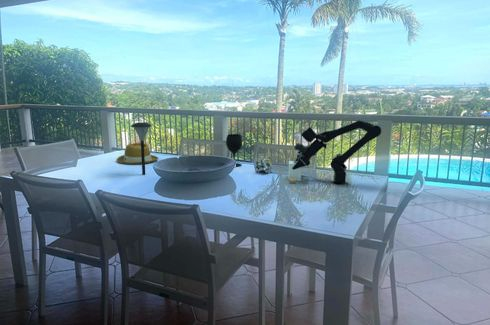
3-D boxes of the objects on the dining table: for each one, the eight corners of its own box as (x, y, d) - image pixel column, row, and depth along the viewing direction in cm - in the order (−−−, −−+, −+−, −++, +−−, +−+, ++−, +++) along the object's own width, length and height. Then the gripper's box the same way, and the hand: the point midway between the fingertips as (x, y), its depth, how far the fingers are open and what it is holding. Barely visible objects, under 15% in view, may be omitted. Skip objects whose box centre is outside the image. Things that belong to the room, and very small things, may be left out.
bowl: (296, 183, 196) (297, 178, 196) (290, 184, 195) (290, 179, 195) (294, 181, 200) (294, 177, 199) (287, 182, 199) (288, 177, 198)
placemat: (302, 187, 189) (302, 187, 189) (275, 185, 194) (275, 184, 194) (309, 178, 210) (309, 177, 209) (285, 175, 214) (285, 175, 214)
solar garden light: (157, 172, 219) (155, 122, 213) (150, 177, 207) (148, 124, 201) (137, 171, 220) (135, 121, 214) (129, 176, 208) (126, 123, 202)
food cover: (300, 177, 209) (300, 160, 206) (300, 180, 202) (301, 162, 200) (288, 177, 209) (288, 159, 207) (288, 180, 203) (289, 162, 201)
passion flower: (268, 182, 220) (267, 169, 211) (251, 177, 224) (250, 164, 215) (275, 169, 227) (275, 156, 218) (259, 164, 231) (258, 151, 222)
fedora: (147, 155, 272) (146, 139, 269) (165, 162, 250) (164, 145, 247) (110, 160, 255) (109, 143, 252) (127, 167, 233) (126, 149, 231)
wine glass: (235, 167, 234) (235, 136, 230) (222, 165, 240) (222, 135, 236) (245, 165, 242) (245, 134, 238) (232, 163, 248) (232, 133, 244)
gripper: (302, 135, 210) (282, 154, 213) (304, 140, 191) (282, 160, 195) (315, 149, 211) (295, 168, 214) (319, 155, 192) (297, 175, 196)
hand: (292, 167), depth 204 cm, fingers closed on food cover, 7 cm apart
